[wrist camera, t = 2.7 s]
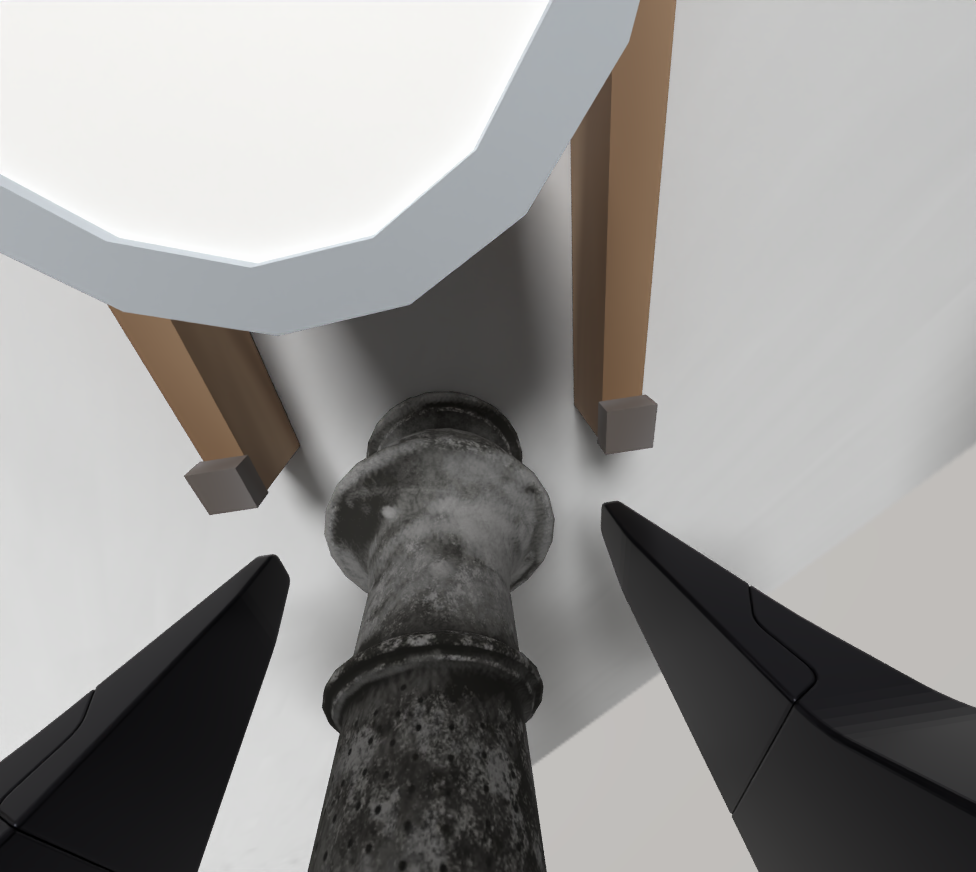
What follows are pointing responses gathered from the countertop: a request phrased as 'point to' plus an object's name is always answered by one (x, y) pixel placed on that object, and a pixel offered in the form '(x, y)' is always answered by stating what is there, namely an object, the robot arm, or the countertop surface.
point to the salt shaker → (435, 648)
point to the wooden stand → (596, 298)
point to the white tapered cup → (283, 144)
